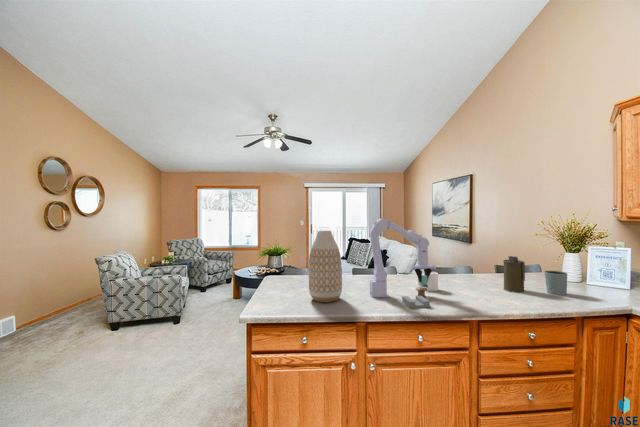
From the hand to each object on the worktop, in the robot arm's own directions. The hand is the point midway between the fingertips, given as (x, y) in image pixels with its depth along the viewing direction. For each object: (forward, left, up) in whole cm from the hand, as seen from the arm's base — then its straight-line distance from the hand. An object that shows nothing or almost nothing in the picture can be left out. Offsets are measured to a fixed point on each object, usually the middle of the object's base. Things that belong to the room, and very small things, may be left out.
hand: (423, 282), depth 164 cm
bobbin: (-3, -4, -8) cm, 9 cm away
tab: (0, -2, -2) cm, 3 cm away
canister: (+57, +2, -8) cm, 57 cm away
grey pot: (+75, -7, -8) cm, 76 cm away
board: (-11, -15, -8) cm, 20 cm away
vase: (-56, 0, -8) cm, 57 cm away
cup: (+8, +11, -8) cm, 16 cm away
